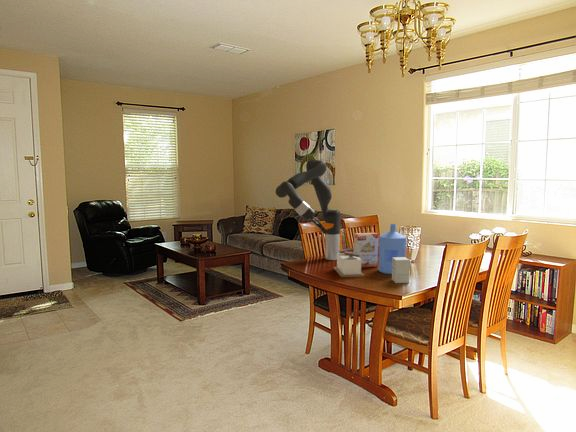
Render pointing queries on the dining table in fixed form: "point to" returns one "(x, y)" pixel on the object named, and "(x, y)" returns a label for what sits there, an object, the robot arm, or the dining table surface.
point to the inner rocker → (346, 250)
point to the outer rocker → (351, 254)
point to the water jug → (390, 249)
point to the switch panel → (348, 266)
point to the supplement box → (400, 269)
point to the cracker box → (366, 248)
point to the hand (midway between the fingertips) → (325, 232)
